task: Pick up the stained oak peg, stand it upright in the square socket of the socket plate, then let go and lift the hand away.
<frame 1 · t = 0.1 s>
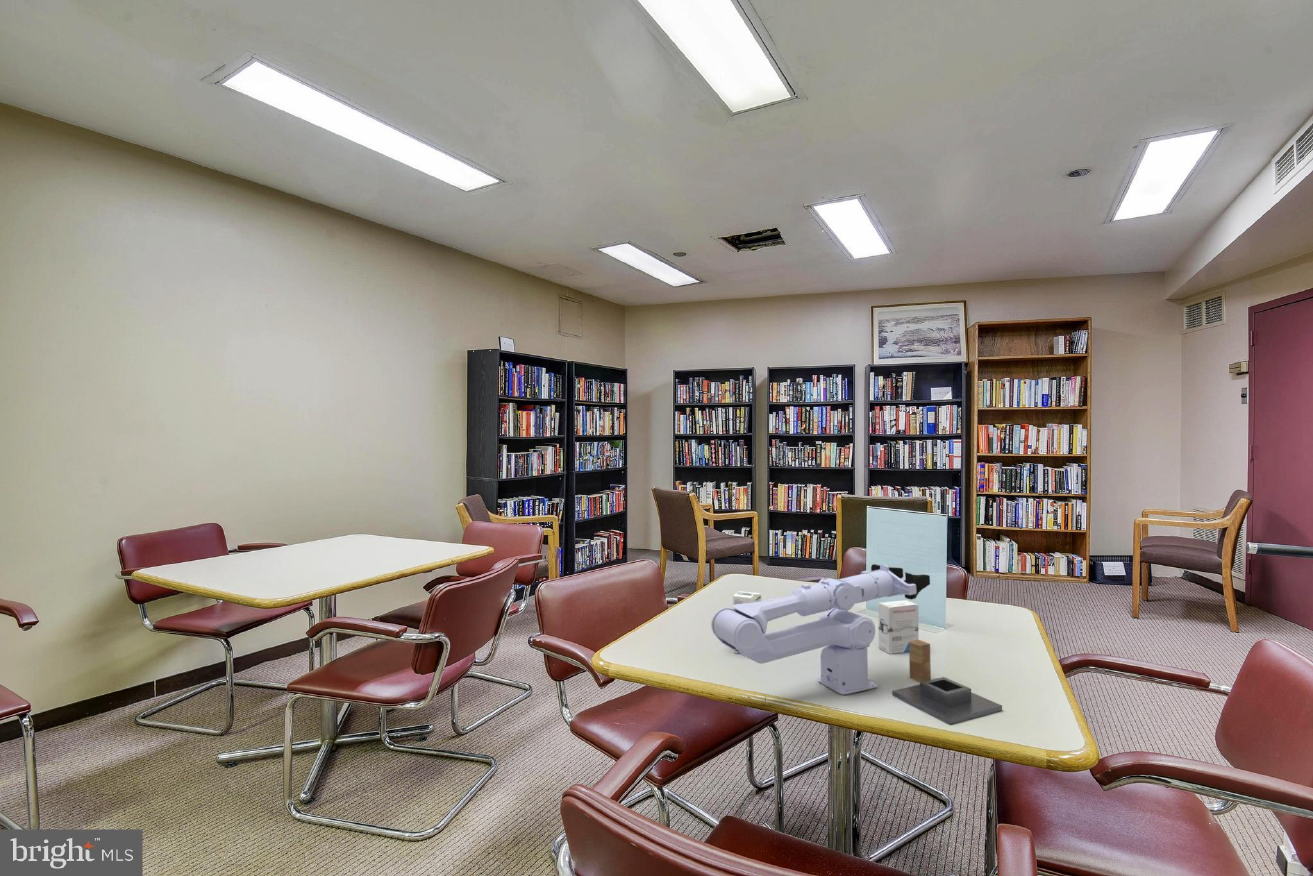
hand: (915, 576, 136), 22 cm above the table, tool horizontal, fingers open, 7 cm apart
oak peg: (920, 679, 131), on the table
socket plate: (945, 702, 119), on the table
syrup box: (747, 652, 150), on the table
ink box: (898, 650, 150), on the table
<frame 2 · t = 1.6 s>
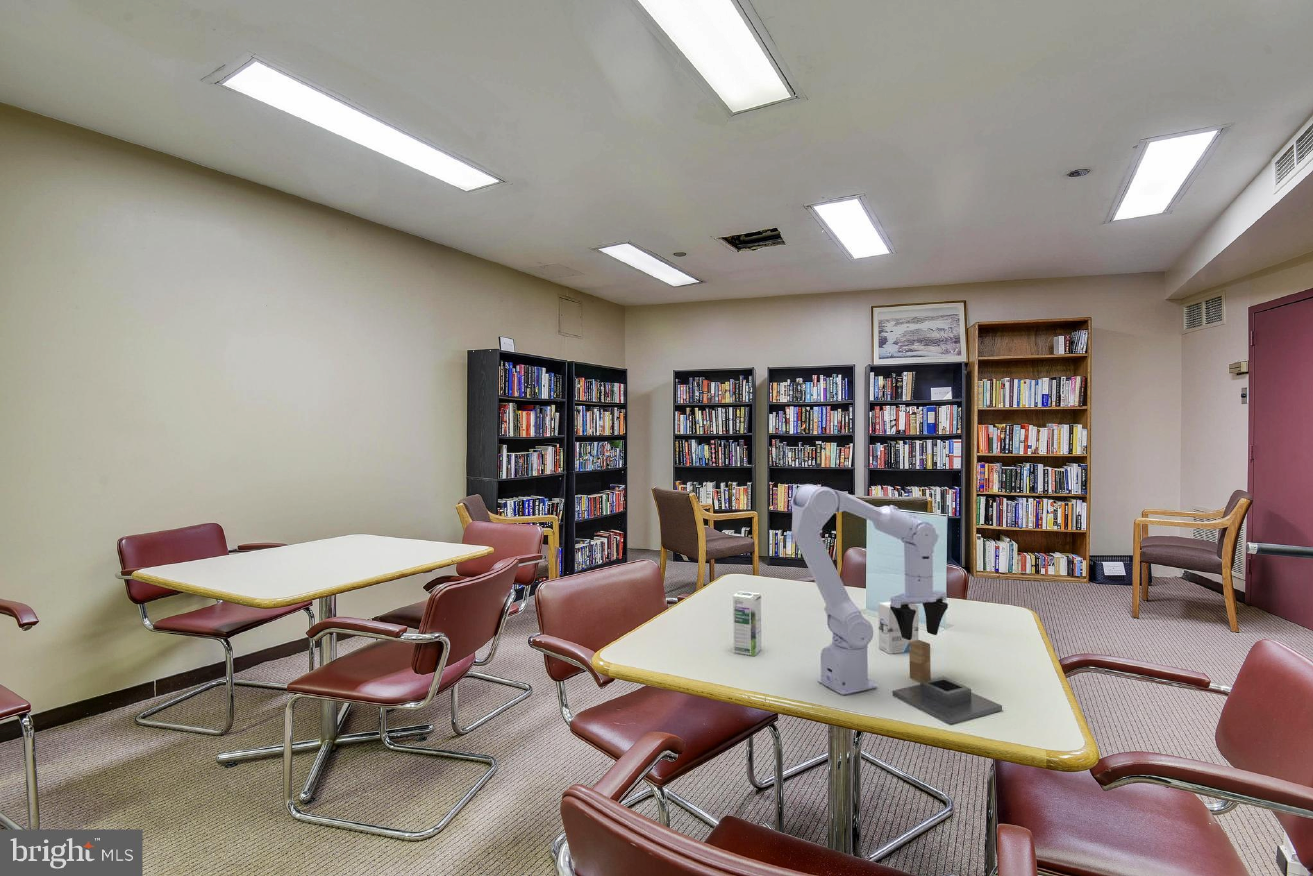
hand: (919, 636, 131), 9 cm above the table, tool pointing down, fingers open, 7 cm apart
nothing on the table moved.
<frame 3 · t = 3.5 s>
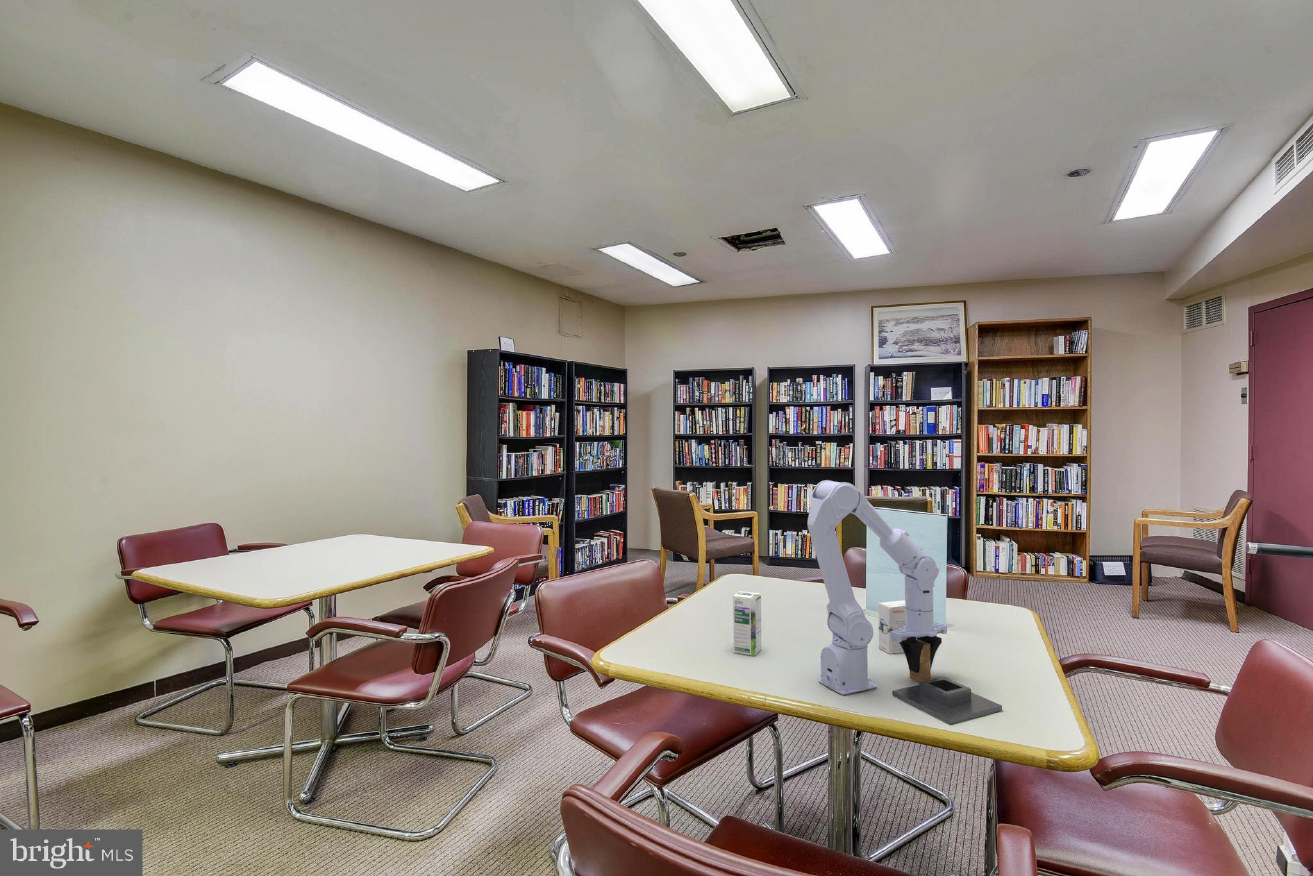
hand: (920, 669, 131), 2 cm above the table, tool pointing down, fingers closed on oak peg, 3 cm apart
oak peg: (920, 679, 131), on the table, touching gripper
everything else where it was.
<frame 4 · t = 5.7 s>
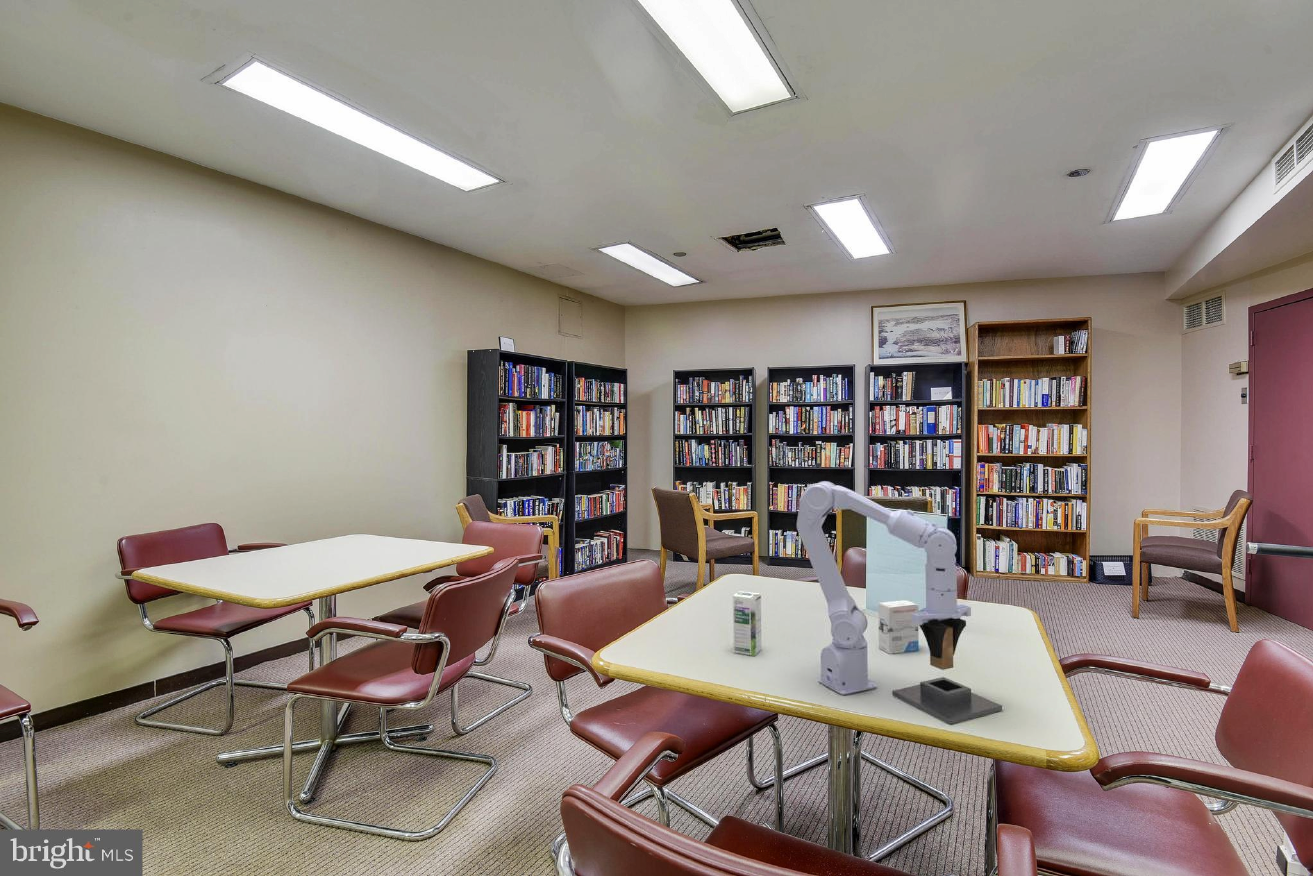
hand: (942, 655, 120), 9 cm above the table, tool pointing down, fingers closed on oak peg, 3 cm apart
oak peg: (941, 666, 120), point 7 cm above the table, touching gripper
everything else where it was.
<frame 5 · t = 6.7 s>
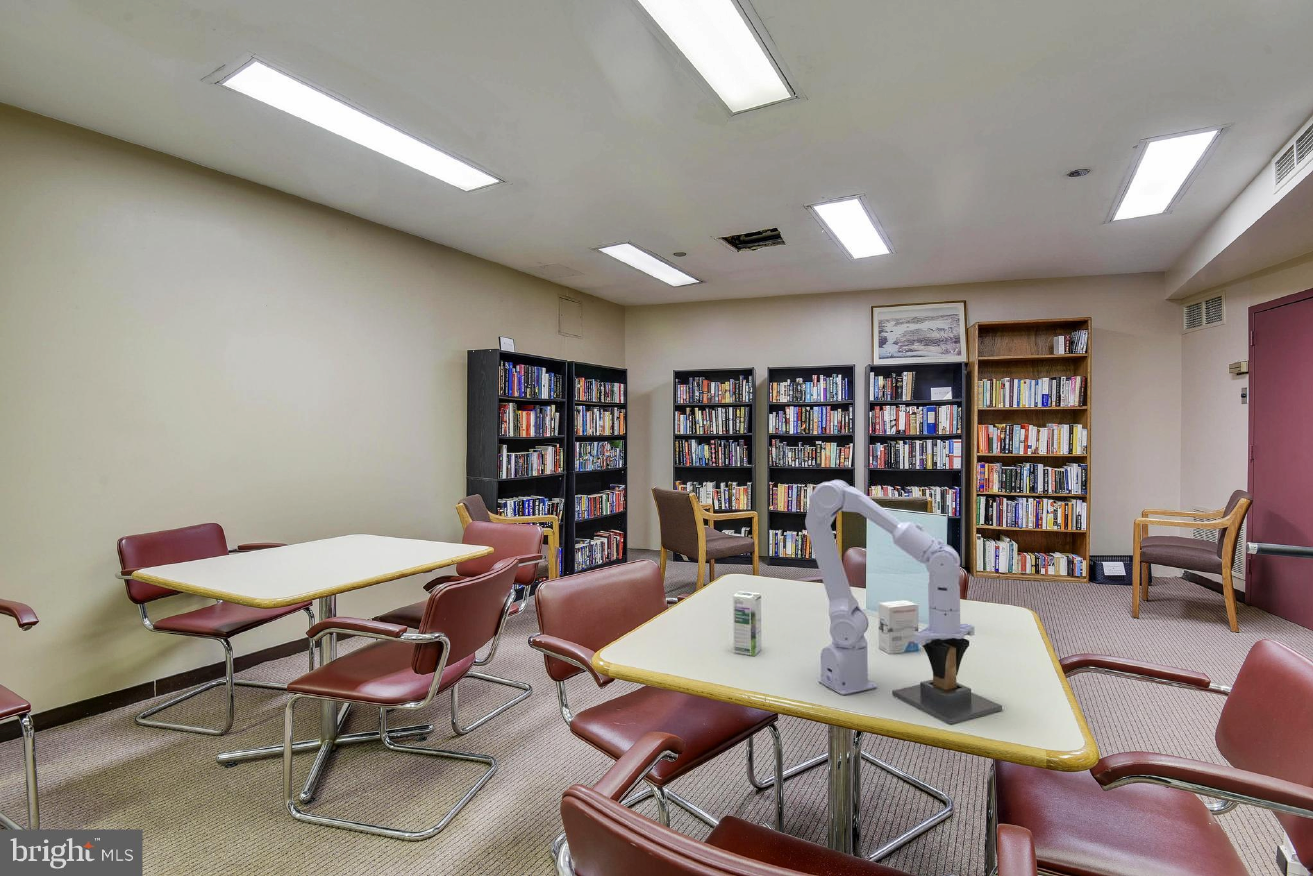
hand: (945, 675, 119), 5 cm above the table, tool pointing down, fingers closed on oak peg, 3 cm apart
oak peg: (944, 686, 119), point 3 cm above the table, touching gripper
everything else where it was.
when the fingers open (4 cm above the table, at t = 7.8 s): oak peg stays where it is, resting on socket plate.
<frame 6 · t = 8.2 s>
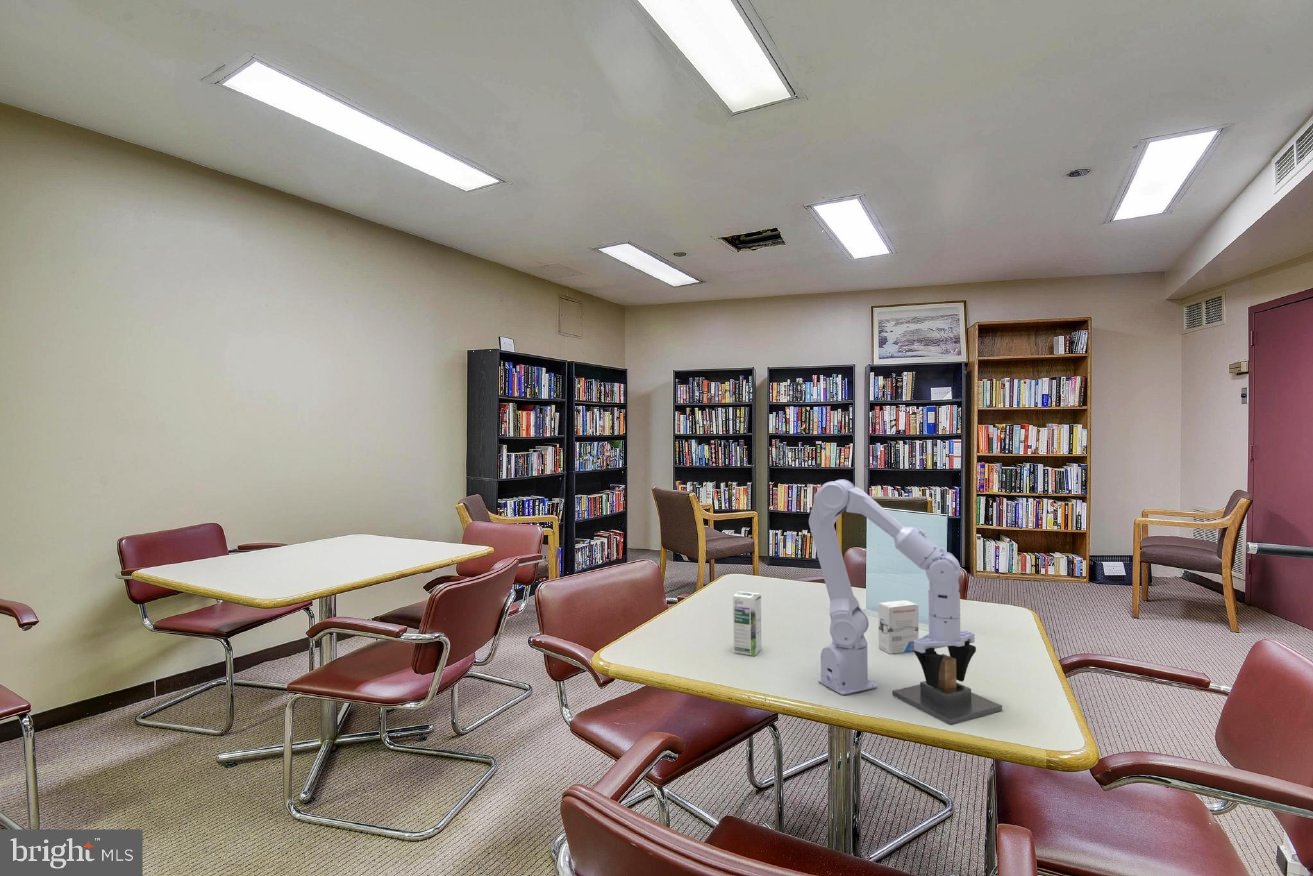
hand: (945, 682, 119), 4 cm above the table, tool pointing down, fingers open, 7 cm apart
oak peg: (944, 697, 119), point 1 cm above the table, touching socket plate
everything else where it was.
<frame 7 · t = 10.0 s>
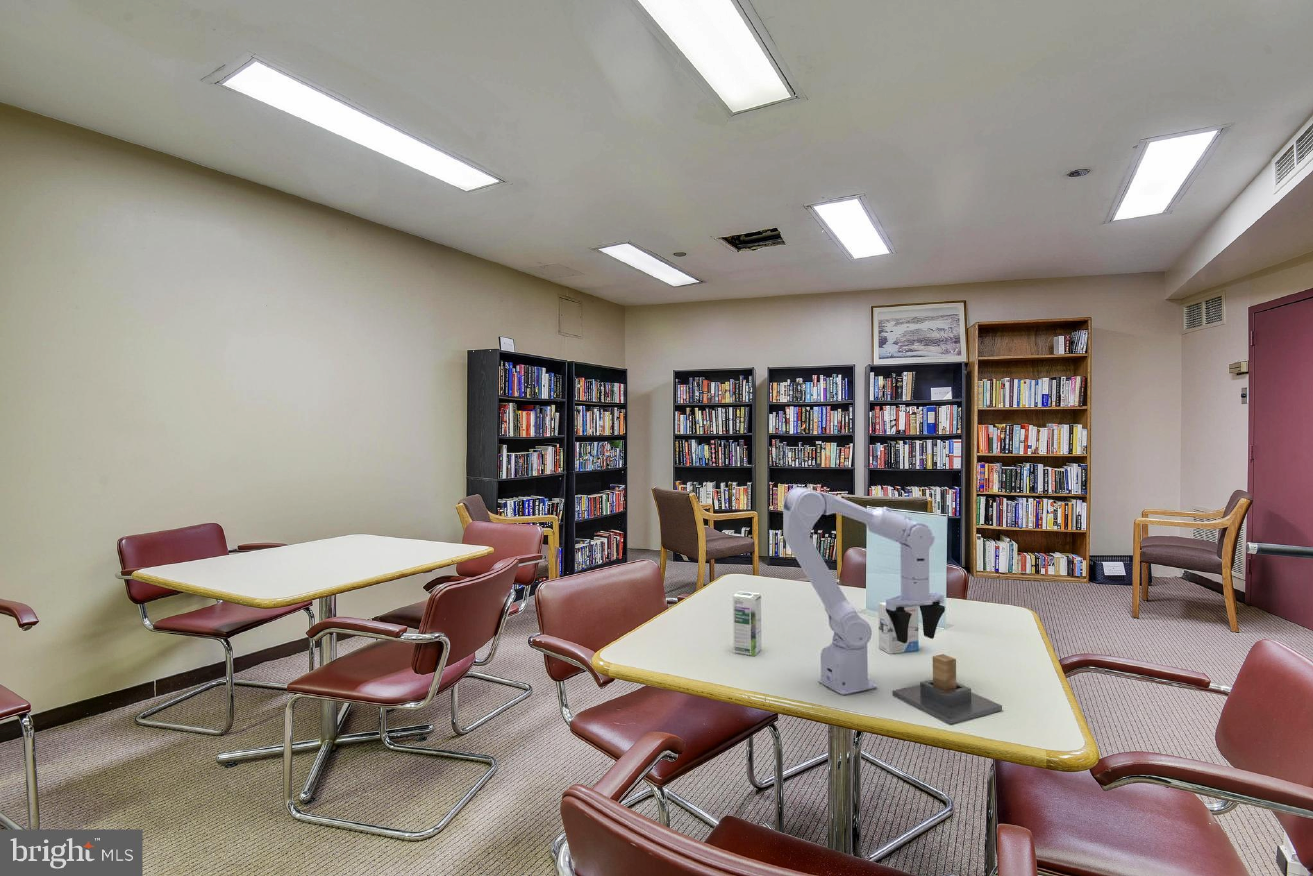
hand: (915, 639, 129), 9 cm above the table, tool pointing down, fingers open, 7 cm apart
nothing on the table moved.
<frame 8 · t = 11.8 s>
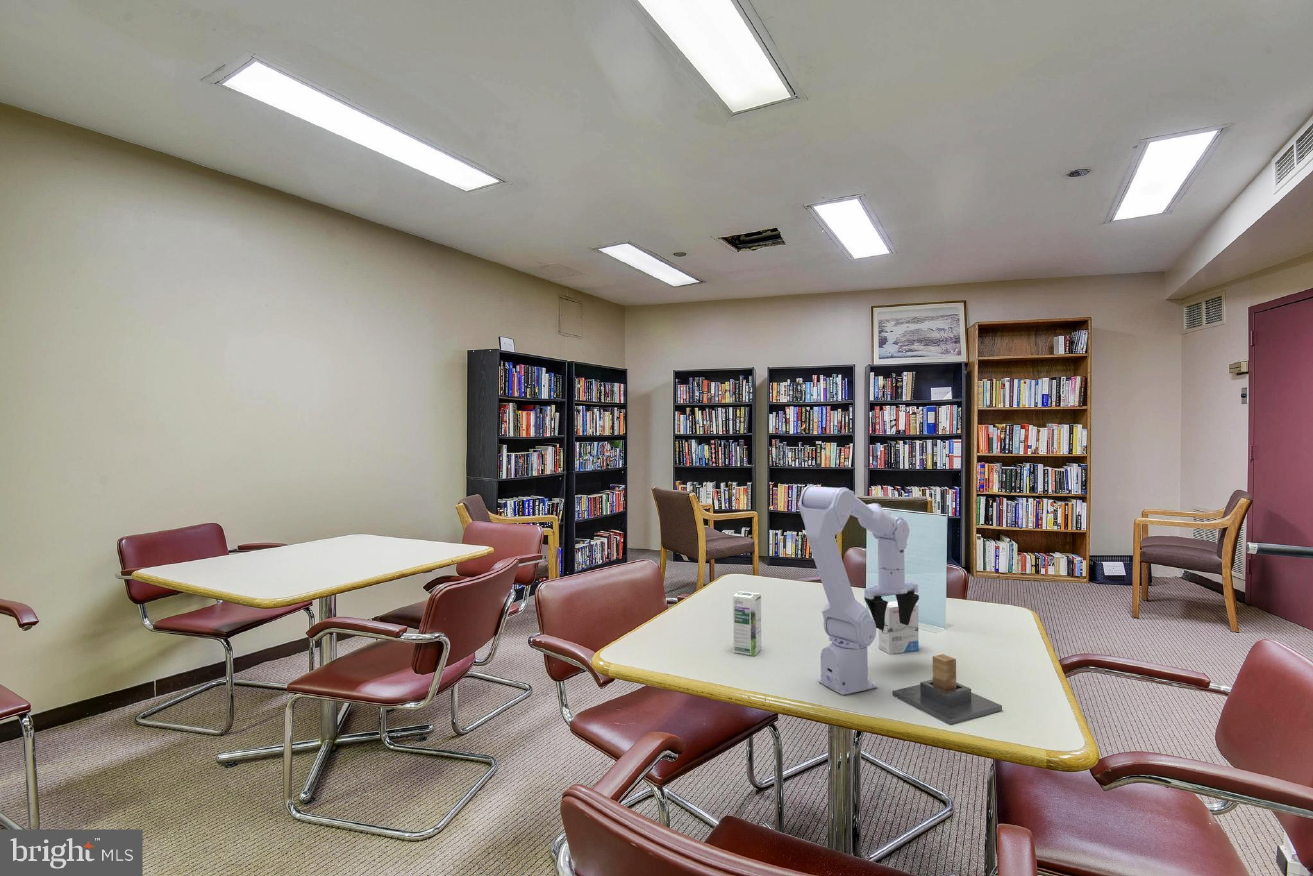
hand: (892, 626, 138), 9 cm above the table, tool pointing down, fingers open, 7 cm apart
nothing on the table moved.
at the end: oak peg 0.2 cm off-centre on the socket plate, point 1.0 cm above the socket plate's base; oak peg tilted 0°; the gripper is holding nothing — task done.
